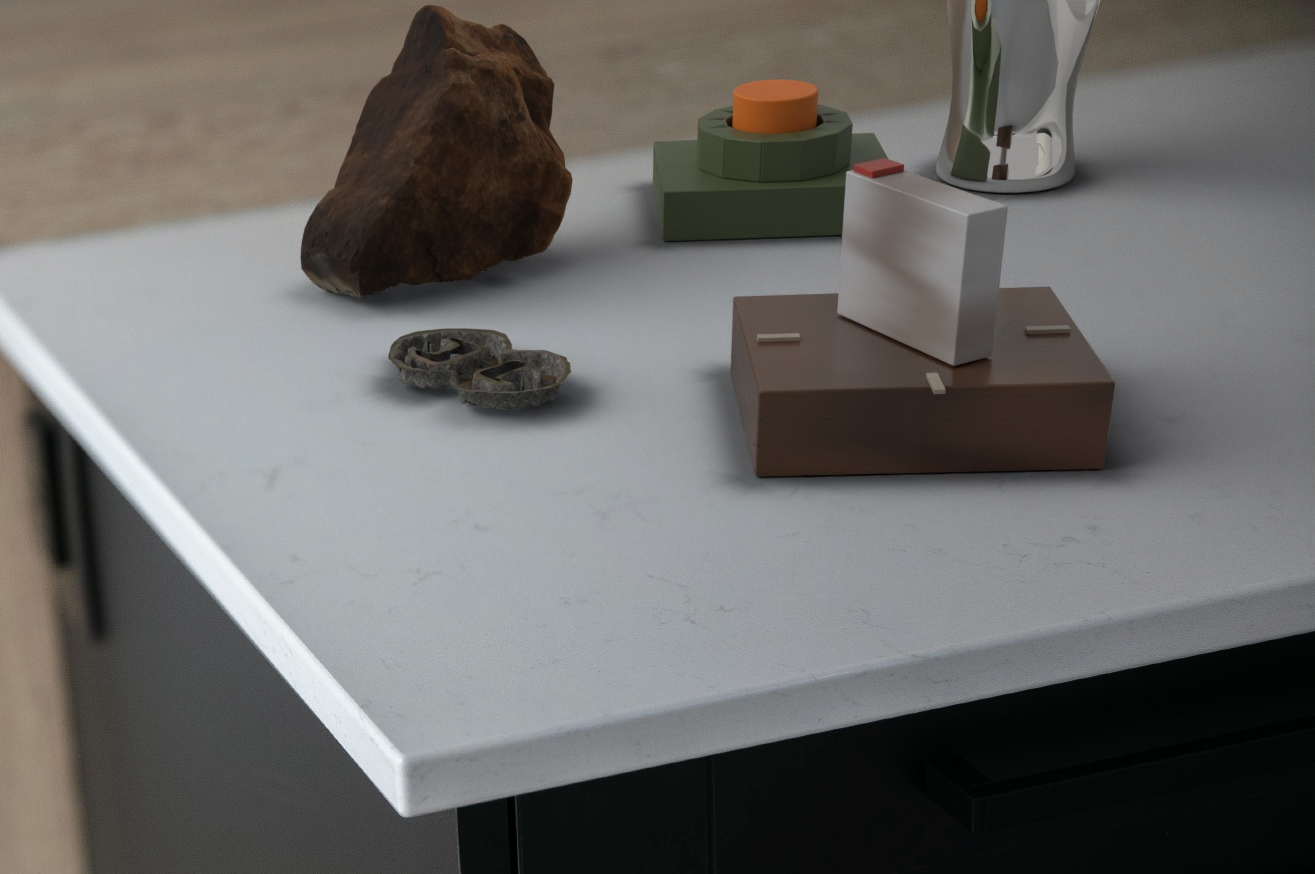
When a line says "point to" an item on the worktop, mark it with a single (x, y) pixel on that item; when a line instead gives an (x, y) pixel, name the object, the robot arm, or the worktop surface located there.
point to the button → (775, 106)
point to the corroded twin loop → (479, 367)
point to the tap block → (915, 392)
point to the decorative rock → (443, 165)
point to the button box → (757, 179)
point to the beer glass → (1013, 93)
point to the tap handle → (921, 261)
